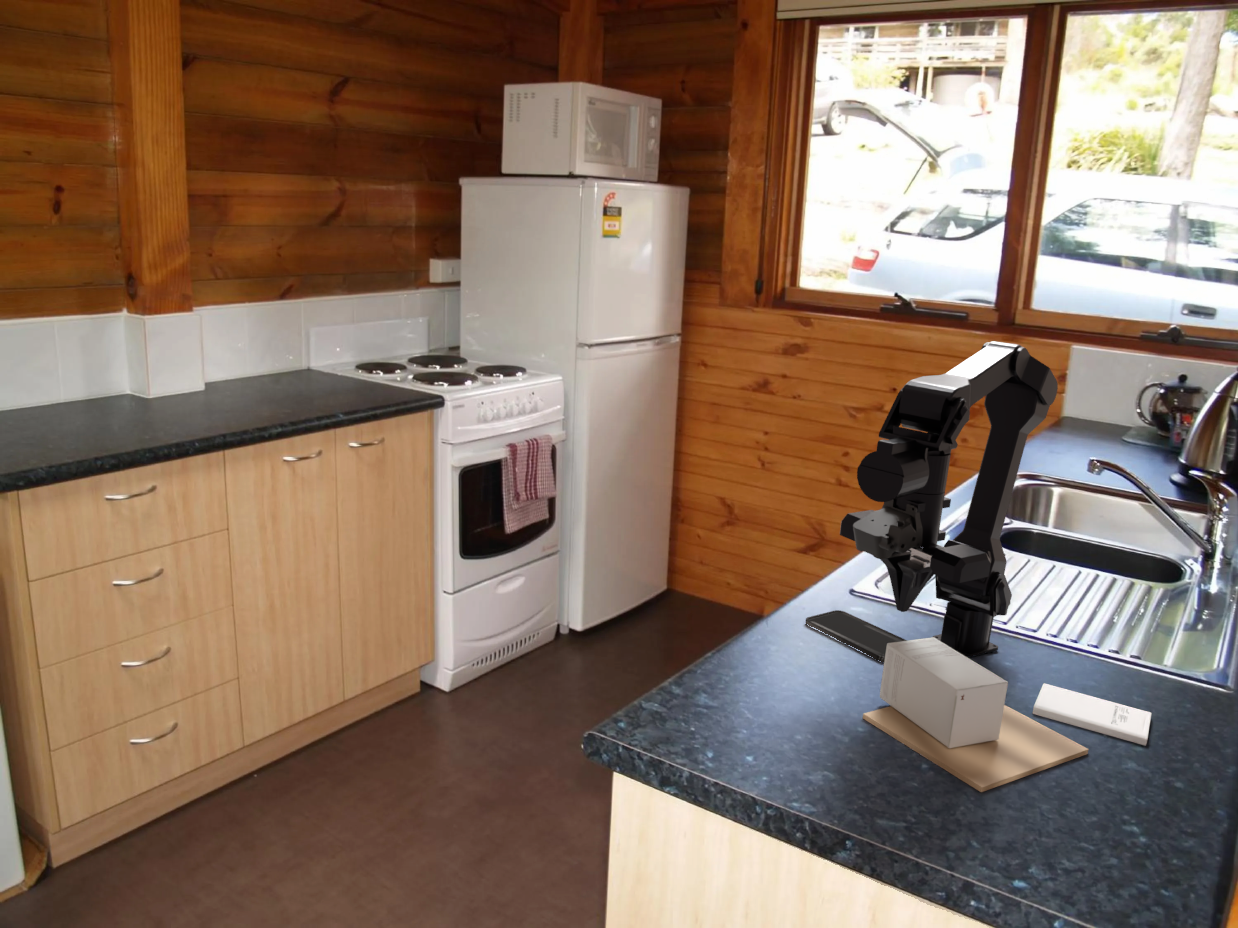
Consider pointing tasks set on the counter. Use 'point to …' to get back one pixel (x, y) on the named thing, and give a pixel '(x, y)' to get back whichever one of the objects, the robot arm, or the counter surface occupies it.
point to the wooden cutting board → (985, 748)
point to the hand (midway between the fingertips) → (902, 610)
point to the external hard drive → (1093, 713)
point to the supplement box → (943, 691)
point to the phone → (854, 632)
